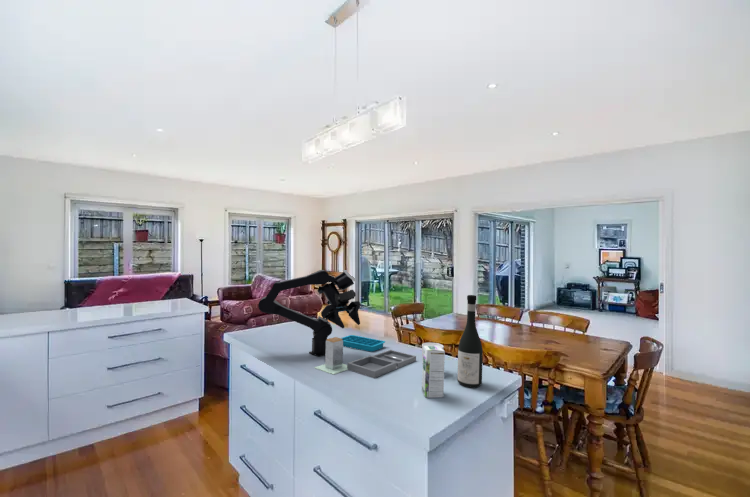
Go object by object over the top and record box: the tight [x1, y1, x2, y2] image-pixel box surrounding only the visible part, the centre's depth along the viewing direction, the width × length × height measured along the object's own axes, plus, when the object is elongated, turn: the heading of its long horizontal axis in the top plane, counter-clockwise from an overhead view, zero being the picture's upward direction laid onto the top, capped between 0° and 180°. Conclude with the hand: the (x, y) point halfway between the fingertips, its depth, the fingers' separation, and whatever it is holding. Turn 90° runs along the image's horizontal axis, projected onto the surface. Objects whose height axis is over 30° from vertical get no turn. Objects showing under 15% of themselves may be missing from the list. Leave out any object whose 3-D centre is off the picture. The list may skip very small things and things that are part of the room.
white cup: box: [421, 342, 445, 365], centre depth 129 cm, size 8×8×10 cm
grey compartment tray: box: [346, 349, 417, 379], centre depth 135 cm, size 13×27×2 cm, turn 141°
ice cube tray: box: [341, 334, 386, 352], centre depth 161 cm, size 12×20×3 cm, turn 57°
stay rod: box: [384, 355, 403, 361], centre depth 140 cm, size 10×1×1 cm, turn 51°
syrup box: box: [421, 345, 446, 399], centre depth 109 cm, size 6×6×14 cm
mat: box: [313, 363, 349, 375], centre depth 130 cm, size 10×10×1 cm
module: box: [324, 336, 344, 370], centre depth 130 cm, size 4×5×10 cm
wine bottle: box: [457, 294, 484, 389], centre depth 118 cm, size 8×8×30 cm
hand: (351, 326), depth 141 cm, fingers open, 9 cm apart
